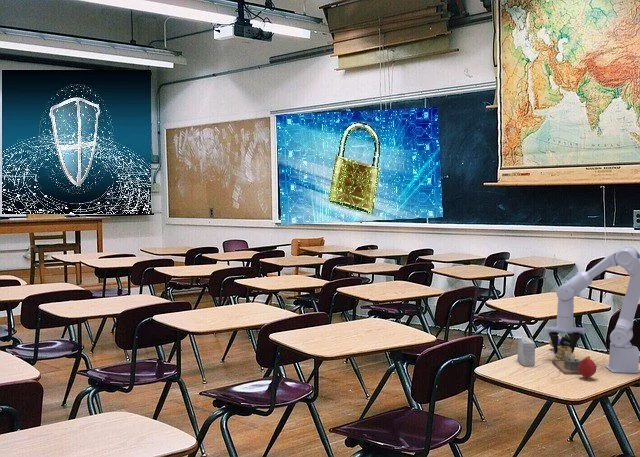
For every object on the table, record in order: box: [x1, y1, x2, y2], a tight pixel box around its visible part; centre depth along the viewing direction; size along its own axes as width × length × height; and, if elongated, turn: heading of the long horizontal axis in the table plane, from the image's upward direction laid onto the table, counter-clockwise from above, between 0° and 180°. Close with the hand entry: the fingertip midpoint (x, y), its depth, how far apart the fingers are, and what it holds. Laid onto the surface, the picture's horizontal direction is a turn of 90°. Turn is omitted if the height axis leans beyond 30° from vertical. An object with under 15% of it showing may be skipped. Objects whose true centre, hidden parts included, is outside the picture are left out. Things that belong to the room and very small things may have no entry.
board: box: [551, 351, 582, 376], centre depth 266 cm, size 10×14×6 cm
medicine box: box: [516, 337, 536, 367], centre depth 272 cm, size 8×4×9 cm, turn 179°
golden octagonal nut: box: [555, 346, 573, 359], centre depth 276 cm, size 5×5×4 cm
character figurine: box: [548, 334, 570, 355], centre depth 286 cm, size 8×7×15 cm
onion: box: [578, 355, 597, 380], centre depth 254 cm, size 6×6×8 cm
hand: (563, 352), depth 276 cm, fingers closed on golden octagonal nut, 5 cm apart
